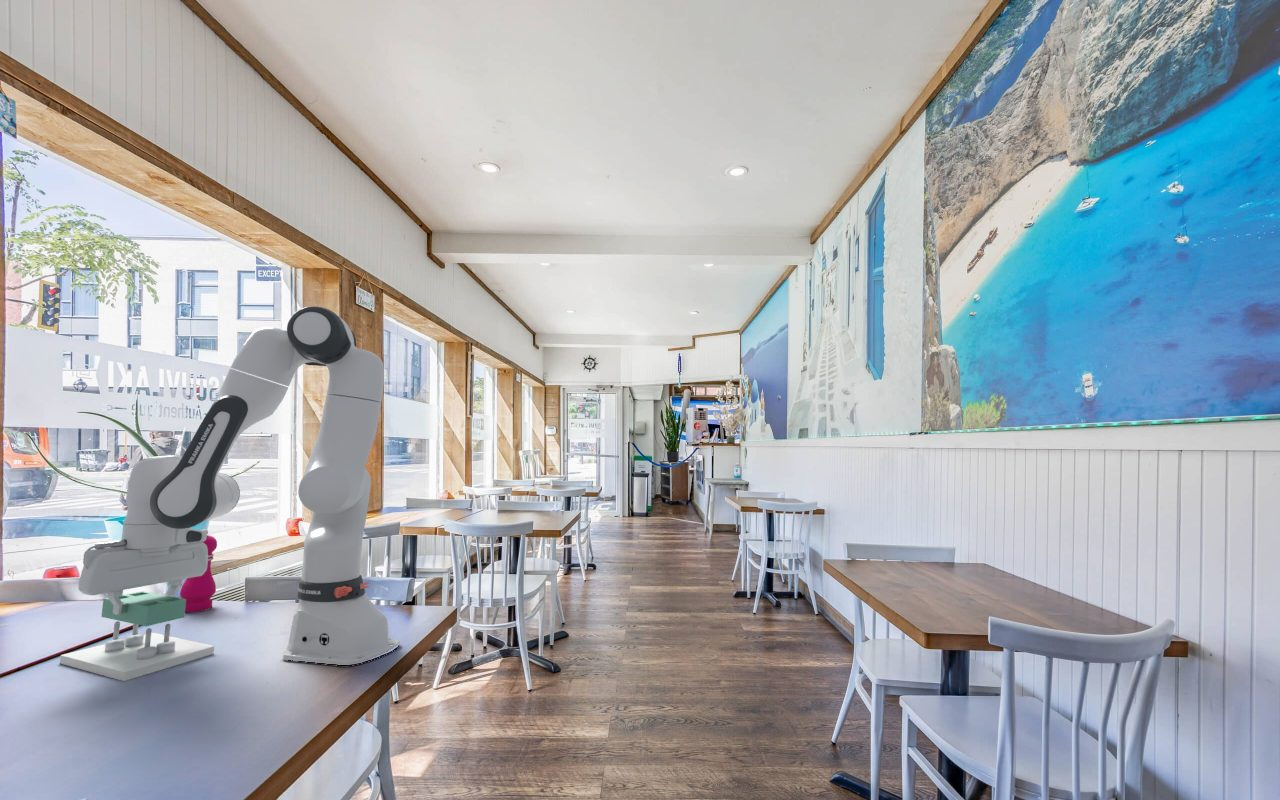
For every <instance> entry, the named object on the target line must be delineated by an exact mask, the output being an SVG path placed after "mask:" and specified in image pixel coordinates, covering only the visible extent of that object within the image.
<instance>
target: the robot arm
mask: <svg viewBox="0 0 1280 800" xmlns="http://www.w3.org/2000/svg"><path fill="white" fill-rule="evenodd" d="M286 325H287V326H286V330H285V329H281V328H276V327H271V326H270V327H269V326H268V327H267V326H265V327H264V326H263V327H260V328H257V329H255V330H254V331H252V332H251V334H250V335H249V336H248V337H247V339H246V340H245V341H244V342H243V345H242V346H241V348H240V349H239V351H238V352H237V355H236V356H235V358H234V359H233V361H232V364H231V366H230V368H229V369H228V372H227V373H226V376H225V379H224V381H223V383H222V385H221V386H220V389H219V391H218V394H217V395H216V397H215V399H214V400H213V403H212V404H211V406H210V408H209V410H208V412H207V413H206V414H205V416H204V417H203V419H202V421H201V423H200V425H199V426H198V428H197V430H196V431H195V434H194V435H193V437H192V438H191V441H190V442H189V444H188V446H187V448H186V449H185V451H184V452H183V454H182V455H179V454H167V455H159V456H158V455H157V456H151V457H145V458H142V459H139V460H137V462H136V463H135V464H134V465H133V467H132V468H131V472H130V474H129V475H130V476H129V478H128V484H127V490H126V494H125V495H126V497H125V502H126V504H125V505H126V508H127V510H126V511H127V513H126V516H125V518H124V520H123V523H122V524H123V525H122V532H121V534H122V535H121V540H114V541H108V542H104V541H103V542H97V543H95V544H94V545H92V546H90V547H88V548H87V549H86V551H84V553H83V559H82V563H83V566H82V570H81V573H80V576H79V577H80V578H79V582H78V591H79V592H80V593H81V594H83V595H87V596H97V595H102V594H106V598H109V600H110V601H111V603H112V604H113V614H116V615H118V614H123V613H126V612H127V610H128V609H127V608H128V603H122V601H121V600H120V598H119V596H122V595H124V590H125V591H126V590H130V589H134V588H140V587H142V588H143V587H147V586H152V585H158V584H164V583H167V585H169V588H168V589H167V591H166V593H164V594H162V595H166V596H171V597H176V596H175V595H176V594H177V592H178V591H179V589H181V588H182V585H183V580H186V579H187V578H192V577H197V576H202V575H203V574H204V573H205V571H206V570H207V564H208V549H207V546H206V544H205V543H203V541H205V540H206V538H207V535H208V534H207V533H206V532H205V531H201V530H202V529H201V530H200V529H194V528H193V527H195V526H197V525H199V524H202V523H204V522H207V521H211V520H213V519H215V518H219V517H222V516H224V515H226V514H228V513H229V512H231V511H232V510H233V509H234V508H235V507H236V506H237V504H238V503H239V500H240V496H241V489H240V486H239V484H238V482H237V481H236V480H235V479H234V478H233V477H231V476H230V475H228V474H225V473H221V472H220V471H221V468H222V467H223V465H224V463H225V461H226V458H227V457H228V455H229V453H230V451H231V450H232V448H233V446H234V443H235V442H236V441H237V439H238V438H239V436H241V434H242V433H244V431H246V430H247V429H249V428H250V427H252V426H253V425H254V424H255V425H256V423H258V422H260V421H263V420H265V419H267V418H269V417H271V416H272V415H273V414H274V413H275V412H276V410H277V409H278V407H279V406H280V405H281V403H282V402H283V400H284V399H285V396H286V393H287V391H288V389H289V387H290V384H291V383H292V380H293V378H294V376H295V375H296V372H297V370H298V369H299V367H301V366H303V365H306V366H316V367H317V366H319V367H320V366H321V367H327V369H328V375H329V378H328V379H329V380H328V386H327V390H326V395H325V400H324V405H323V409H322V410H323V411H322V416H321V420H320V425H319V430H318V434H317V436H316V439H315V442H314V445H313V446H312V450H311V453H310V455H309V458H308V461H307V464H306V468H305V470H304V474H303V476H302V478H301V480H300V481H299V485H298V493H297V494H298V497H299V500H300V502H301V504H302V505H303V506H304V508H305V509H308V511H311V512H312V513H311V514H312V515H311V518H310V523H309V527H308V530H307V533H306V537H305V539H304V542H303V557H302V567H301V577H300V579H299V580H298V585H297V598H298V599H299V600H298V604H297V607H296V610H295V612H294V614H293V617H292V618H293V619H292V624H291V627H290V628H291V629H290V633H289V639H288V644H287V648H286V651H285V652H284V653H283V655H282V660H283V661H288V660H291V661H290V662H298V661H305V662H304V663H307V662H315V663H314V664H317V663H329V664H338V665H350V664H353V663H357V662H361V661H364V660H368V659H370V658H373V657H376V656H378V655H381V654H383V653H385V652H388V651H389V650H391V649H393V648H394V647H396V646H397V645H398V644H399V643H401V642H400V640H398V639H395V638H393V637H390V636H389V624H388V623H389V622H388V619H387V617H386V615H385V614H384V613H383V612H382V611H381V610H380V609H379V608H378V607H377V606H376V605H375V604H374V603H373V602H372V601H371V599H369V597H368V596H367V595H366V589H367V588H369V587H370V586H369V585H368V584H370V581H366V582H364V580H363V576H362V575H361V564H362V563H361V562H362V549H363V537H364V532H365V531H364V530H365V526H366V521H367V515H368V510H369V509H368V508H369V502H370V494H371V488H372V480H371V479H372V478H371V475H370V473H369V471H368V470H367V469H366V466H367V462H368V459H369V455H370V452H371V448H372V446H373V444H374V442H375V439H376V434H377V427H378V424H379V417H380V413H381V408H382V401H383V395H384V385H385V384H384V382H385V380H384V379H385V369H384V366H385V365H384V362H383V360H382V359H381V357H380V356H378V355H377V354H376V353H374V352H373V351H370V350H368V349H363V348H359V347H357V340H356V336H355V334H354V332H353V330H352V329H351V328H350V326H349V325H348V324H347V323H346V321H345V320H344V319H343V318H341V317H340V316H339V315H337V314H336V313H335V312H334V311H333V310H330V309H329V308H325V307H322V306H315V305H313V306H306V307H302V308H301V309H298V310H297V311H295V312H294V313H293V314H292V315H291V317H290V318H289V319H288V321H287V324H286ZM390 645H393V646H390ZM292 660H293V661H292Z"/></svg>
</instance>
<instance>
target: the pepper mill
mask: <svg viewBox="0 0 1280 800" xmlns="http://www.w3.org/2000/svg"><path fill="white" fill-rule="evenodd" d="M201 531H205V532H206V533H207V538H206V540H205V541H203V543H205V544H206V546H207V549H208V564H207V570H206V571H205V573H204V574H203V575H202V576H197V577H192V578H186V579H184V580H185V581H184V583H182V585H181V587H180V591H179V592H180V593H179V596H180V598H182V599H186V606H185V613H197V612H202V611H207V610H211V608H212V607H213V599H211V598H212V597H213V596H214V595H215V594H216V591H217V586H216V582H215V580H214V577H213V574H212V571H211V569H212V568H211V564H212V560H214V553H213V552H215V550H216V549H217V546H218V541H217V539H216V538H215V536H212V535H209V530H208V529H206V528H203V529H201Z"/></svg>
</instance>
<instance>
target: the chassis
mask: <svg viewBox="0 0 1280 800" xmlns="http://www.w3.org/2000/svg"><path fill="white" fill-rule="evenodd" d="M113 626H114V627H113V634H112V640H107V641H105V643H104V644H100V645H97V646H93V647H89V648H83V649H80V650H76V651H71V652H68V653H64V654H60V659H59V664H61V665H65V666H67V667H68V666H69V667H71V668H74V669H78V670H82V671H86V672H89V673H92V674H95V675H96V674H97V675H99V676H100V675H101V676H103V675H104V677H107V678H111V679H114V680H119V681H122V682H126V681H129V680H132V679H135V678H139V677H142V676H145V675H148V674H152V673H156V672H159V671H162V670H165V669H169V668H171V667H175V666H178V665H182V664H185V663H189V662H191V661H194V660H198V659H200V658H204V657H207V656H212V655H214V653H215V645H211V644H207V643H202V642H199V641H198V642H197V641H193V640H188V639H185V638H179V637H175V636H170V634H171V624H170V623H166V624H165V627H164V634H161V633H156V632H152V629H153V628H150V627H149V628H147V629H145V634H138V633H139V625H137V624H133V625H132V632H131V634H132V635H127V636H126V637H125V638H119V636H120V635H119V634H120V626H121V621H118V620H116V621H115V622H114V625H113Z"/></svg>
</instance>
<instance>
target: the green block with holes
mask: <svg viewBox="0 0 1280 800" xmlns="http://www.w3.org/2000/svg"><path fill="white" fill-rule="evenodd" d="M119 598H120V600H121V601H122V603H128V608H127V609H128V610H127V612H126V613H123V614H118V615H116V614H113V604H112V603H111V601H110V600H109V598H108V597H105V598H102V599H103V600H102V608H101V617H102V618H105V619H109V620H110V619H111V620H115V621H119V622H124V623H127V624H128V623H129V624H137V625H138V626H142V627H150V626H154V625H157V624H158V625H159V624H162V623H166V622H170V621H175V620H179V619H182V618H185V616H186V614H185V613H186V612H185V606H186V599H182V598H181V597H176V596H174V597H171V596H166V595H163V594H160V593H155V592H149V591H148V592H147V591H143V590H142V591H135V592H131V593H126V594H125V593H124V594H123V595H122V596H119Z"/></svg>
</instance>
